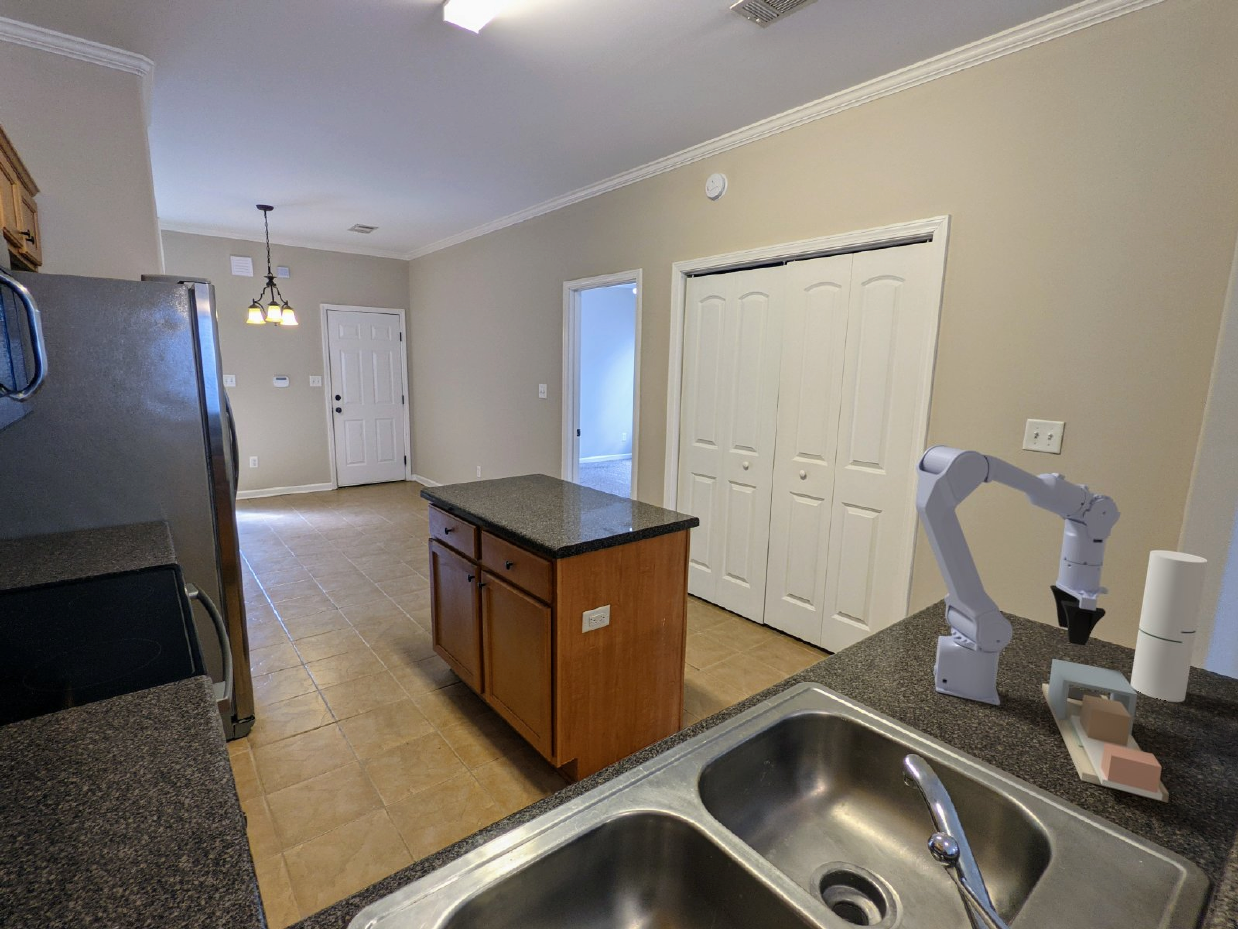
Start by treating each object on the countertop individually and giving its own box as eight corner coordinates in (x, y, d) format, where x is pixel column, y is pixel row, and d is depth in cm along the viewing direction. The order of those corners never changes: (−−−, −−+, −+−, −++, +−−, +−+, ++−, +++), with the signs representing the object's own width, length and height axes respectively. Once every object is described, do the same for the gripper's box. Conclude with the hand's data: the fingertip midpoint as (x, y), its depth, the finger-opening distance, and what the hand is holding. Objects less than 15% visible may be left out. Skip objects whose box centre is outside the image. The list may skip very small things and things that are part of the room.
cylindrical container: (1196, 702, 99) (1220, 562, 96) (1155, 701, 99) (1176, 561, 96) (1158, 681, 106) (1179, 550, 103) (1119, 680, 106) (1139, 549, 103)
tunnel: (1057, 725, 92) (1063, 679, 91) (1047, 701, 99) (1052, 658, 98) (1130, 742, 88) (1137, 694, 87) (1113, 715, 95) (1120, 671, 94)
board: (1081, 780, 79) (1082, 771, 79) (1041, 689, 103) (1042, 682, 102) (1167, 802, 75) (1169, 792, 75) (1105, 702, 99) (1106, 695, 98)
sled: (1101, 785, 76) (1107, 747, 75) (1070, 719, 91) (1074, 688, 90) (1161, 800, 73) (1167, 762, 72) (1118, 730, 88) (1123, 698, 87)
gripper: (1124, 576, 91) (1113, 657, 93) (1098, 553, 104) (1088, 624, 106) (1069, 569, 94) (1059, 647, 96) (1050, 547, 107) (1041, 617, 109)
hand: (1071, 635), depth 101 cm, fingers open, 7 cm apart
